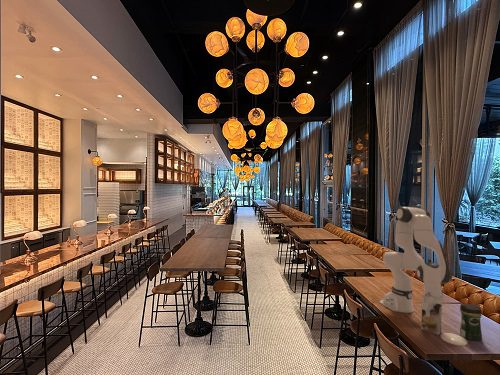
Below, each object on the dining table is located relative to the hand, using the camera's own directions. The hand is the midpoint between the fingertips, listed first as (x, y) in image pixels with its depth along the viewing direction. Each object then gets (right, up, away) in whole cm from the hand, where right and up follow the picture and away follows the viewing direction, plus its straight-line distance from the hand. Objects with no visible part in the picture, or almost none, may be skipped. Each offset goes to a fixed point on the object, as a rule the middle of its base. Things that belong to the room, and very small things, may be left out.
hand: (431, 314), depth 170 cm
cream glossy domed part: (+6, -10, -10) cm, 15 cm away
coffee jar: (+18, -10, -7) cm, 21 cm away
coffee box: (0, -10, +1) cm, 10 cm away
